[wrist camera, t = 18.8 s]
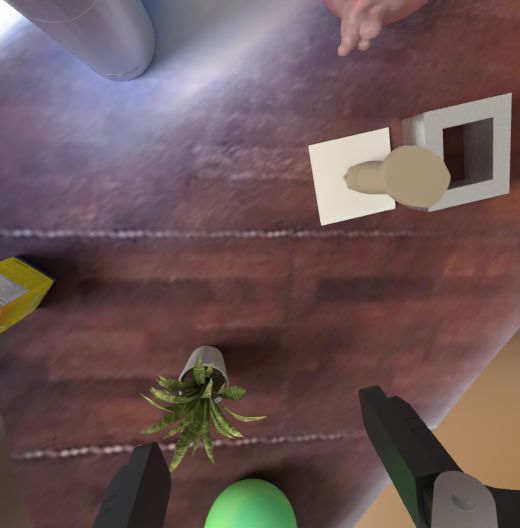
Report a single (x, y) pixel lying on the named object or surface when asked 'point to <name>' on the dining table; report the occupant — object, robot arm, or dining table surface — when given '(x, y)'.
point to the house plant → (198, 402)
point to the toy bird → (251, 507)
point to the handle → (402, 176)
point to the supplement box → (20, 290)
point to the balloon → (367, 19)
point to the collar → (468, 147)
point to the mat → (336, 166)
